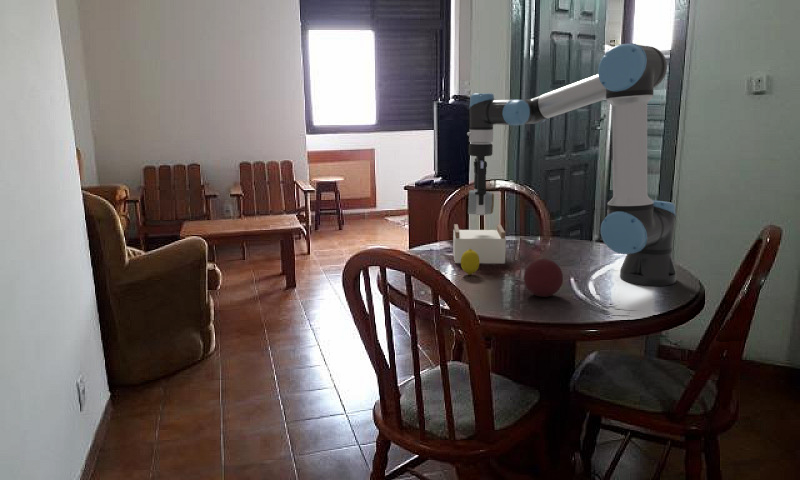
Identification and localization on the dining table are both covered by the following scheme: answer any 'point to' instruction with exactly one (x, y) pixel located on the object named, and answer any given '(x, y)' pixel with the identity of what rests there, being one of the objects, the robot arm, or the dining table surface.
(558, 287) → the decorative ball
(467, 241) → the display stand
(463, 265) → the lemon
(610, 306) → the dining table surface
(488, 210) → the ceramic mug
